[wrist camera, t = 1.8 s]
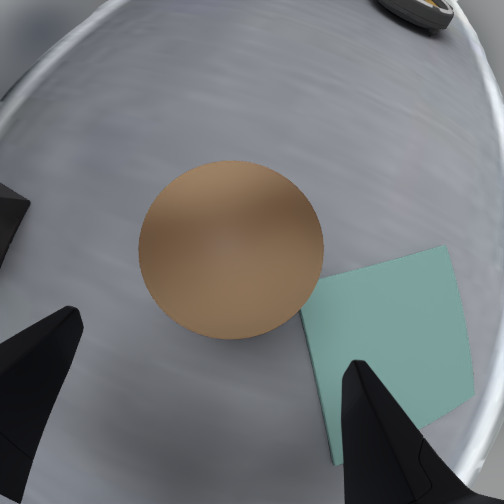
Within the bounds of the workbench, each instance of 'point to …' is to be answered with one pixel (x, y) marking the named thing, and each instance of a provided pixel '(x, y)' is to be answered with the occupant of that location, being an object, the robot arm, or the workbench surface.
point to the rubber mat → (391, 337)
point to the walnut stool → (231, 250)
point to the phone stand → (10, 216)
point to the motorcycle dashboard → (422, 12)
